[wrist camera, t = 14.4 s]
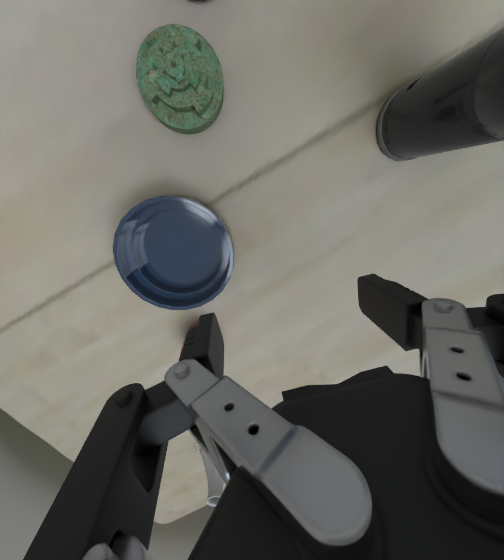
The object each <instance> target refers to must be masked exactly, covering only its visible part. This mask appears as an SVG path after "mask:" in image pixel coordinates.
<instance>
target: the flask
mask: <svg viewBox="0 0 504 560" xmlns="http://www.w3.org/2000/svg"><path fill="white" fill-rule="evenodd" d="M201 456H202V459H203V463H204V466H205V471H206V475H207V479H208V498H207V500H206V503H207V504H208V505H210V506H216V505H217V503H218V501H219V499H220V497H221V495H222V493H223V483H224V481H223V479H222V478H221V476H220V475H219V473H218V471H217V470H216V468H215V466H214V464H213V463H212V461H211V460H210V459H209V457H208V456H207V455H206V453H205V452H204V451H203V449H201Z"/></svg>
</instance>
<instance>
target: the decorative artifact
mask: <svg viewBox="0 0 504 560" xmlns="http://www.w3.org/2000/svg"><path fill="white" fill-rule="evenodd" d="M136 76H137V83H138V87H139V90H140V93H141V95H142V98H143V100H144V101H145V103H146V105H147V106H148V108H149V109H150V110H151V112H152V113H153V114H154V115H155V116H156V117H157V118H158V119H159V120H160V121H161V122H162V123H163V124H164V125H165V126H167V127H168V128H170V129H171V130H173V131H176V132H179V133H183V134H195V133H199V132H201V131H203V130H205V129H207V128H208V127H209V126H210V125H211V124H212V123H213V122H214V121H215V120H216V118H217V117H218V115H219V113H220V110H221V107H222V103H223V76H222V71H221V66H220V63H219V60H218V58H217V56H216V54H215V52H214V50H213V49H212V47H211V46H210V44H209V43H208V42H207V41H206V40H205V39H204V38H203V37H202V36H201V35H200V34H199V33H197V32H196V31H194V30H193V29H191V28H188V27H186V26H182V25H177V24H170V25H165V26H162V27H159V28H157V29H155V30H154V31H153V32H151V33H150V34H149V35H148V36H147V37H146V39H145V40H144V42H143V43H142V45H141V47H140V50H139V53H138V56H137V62H136Z"/></svg>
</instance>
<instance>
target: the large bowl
mask: <svg viewBox="0 0 504 560" xmlns="http://www.w3.org/2000/svg"><path fill="white" fill-rule="evenodd" d="M113 253H114V259H115V264H116V267H117V269H118V271H119V273H120V276H121V278H122V279H123V281H124V282H125V283H126V284H127V286H128V287H129V288H130V289H131V291H133V292H134V293H135V294H136V295H138V296H139V297H140V298H141V299H143V300H144V301H147V302H149V303H151V304H153V305H155V306H158V307H161V308H166V309H170V310H187V309H192V308H196V307H200V306H202V305H204V304H206V303H208V302H209V301H211V300H213V299H214V298H215V297H216V296H217V295H218V294H219V293H220V292H221V291H222V290H223V289H224V287H225V286H226V284H227V282H228V281H229V279H230V276H231V272H232V269H233V260H234V251H233V243H232V239H231V235H230V232H229V230H228V228H227V226H226V225H225V223H224V221H223V220H222V218H221V217H220V216H219V215H218V214H217V213H216V212H215V211H214V210H213V209H212V208H210V207H208V206H207V205H205V204H204V203H202V202H201V201H198V200H195V199H192V198H189V197H185V196H160V197H156V198H152V199H148V200H145V201H143V202H141V203H140V204H138V205H136V206H135V207H133V208H131V209H130V211H129V212H128V213H127V214H126V215H125V216H124V217H123V218H122V219H121V221H120V223H119V226H118V228H117V230H116V232H115V236H114V244H113Z"/></svg>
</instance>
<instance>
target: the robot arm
mask: <svg viewBox="0 0 504 560" xmlns="http://www.w3.org/2000/svg"><path fill="white" fill-rule="evenodd" d="M427 72H428V71H427ZM424 74H425V73H424ZM421 76H422V75H421ZM377 139H378V143H379V146H380V148H381V150H382V151H383V152H384V153H385V154H386V155H387V156H388V157H389V158H391V159H394V160H398V161H404V160H410V159H414V158H417V157H421V156H427V155H432V154H437V153H442V152H447V151H452V150H457V149H462V148H467V147H473V146H478V145H483V144H488V143H493V142H498V141H503V140H504V27H503V28H501V29H499V30H498V31H496V32H494V33H493V34H491V35H489V36H488V37H486V38H484V39H483V40H481V41H479V42H478V43H476V44H475V45H473V46H471V47H470V48H468V49H466V50H465V51H463V52H461V53H460V54H458V55H456V56H455V57H453V58H452V59H450V60H448V61H447V62H445V63H443V64H442V65H440V66H438V67H437V68H435V69H433V70H432V71H430V72H429V73H427V74H425V75H424V76H422V77H420V78H419V77H418V78H417V80H416V79H415V80H414V82H411V83H410V84H407V85H406V86H404V87H402V88H401V89H399V90H398V91H396V92H395V93H394V94H393V95H392V96H391V97H390V98H389V99H388V100H387V101H386V103H385V104H384V106H383V108H382V110H381V112H380V115H379V118H378V122H377ZM358 299H359V306H360V309H361V311H362V312H363V314H364V315H366V316H367V317H368V318H369V319H370V320H371V321H372V322H374V323H375V324H376V325H377V326H378V327H379V328H380V329H381V330H383V331H384V332H385V333H386V334H387V335H388V336H389V337H391V338H392V339H393V340H394V341H395V342H396V343H397V344H398V345H400V346H401V347H402V348H403V349H404V350H405V351H409V350H413V349H417V348H418V349H419V364H420V376H415V375H409V374H398V373H393V372H392V371H391V370H390V369H389V368H388V366H383V367H379V368H375V369H371V370H367V371H363V372H360V373H358V374H356V375H354V376H352V377H351V378H349V379H347V380H345V381H343V382H341V383H339V384H333V385H307V386H303V387H299V388H295V389H291V390H287V391H283V392H282V395H283V400H284V401H282V402H280V403H279V404H277V405H276V406H274V407H273V408H272V409H271V408H270V407H268V406H267V405H266V404H264V403H263V402H262V401H260V400H259V399H258V398H256V397H255V396H254V395H252V394H251V393H249V392H248V391H247V390H245V389H244V388H243V387H241V386H240V385H239V384H237V383H236V382H235V381H233V380H232V379H231V378H229V377H228V376H223V371H224V342H223V337H222V334H221V331H220V328H219V325H218V322H217V318H216V315H215V313H214V312H213V313H209V314H205V315H201V316H200V318H199V323H198V325H197V326H193V327H192V328H191V329H190V330H189V331H188V333H187V335H186V338H185V342H184V346H183V348H182V352H181V355H180V358H179V362H177V363H176V364H174V365H173V366H172V367H171V368H169V370H168V371H167V372H166V374H165V380H164V381H163V382H161V383H159V384H157V385H155V386H153V387H151V388H149V389H146V390H144V388H143V386H142V385H141V384H139V383H133V384H129V385H127V386H124V387H123V388H121V389H119V390H118V391H116V392H115V393H114V394H113V395H112V396H111V397H110V398H109V399H108V400H107V402H106V403H105V405H104V407H103V409H102V411H101V413H100V415H99V417H98V419H97V420H96V422H95V424H94V426H93V428H92V430H91V432H90V434H89V436H88V437H87V439H86V441H85V443H84V445H83V447H82V449H81V451H80V453H79V454H78V456H77V458H76V460H75V462H74V464H73V466H72V468H71V470H70V472H69V474H68V475H67V478H66V480H65V481H64V483H63V485H62V487H61V489H60V491H59V492H58V494H57V496H56V498H55V500H54V502H53V504H52V506H51V508H50V510H49V511H48V513H47V515H46V517H45V519H44V521H43V523H42V525H41V527H40V528H39V530H38V532H37V534H36V536H35V538H34V540H33V542H32V543H31V545H30V547H29V549H28V551H27V553H26V555H25V557H24V559H23V560H154V559H153V557H152V556H151V555H150V553H149V552H148V547H149V542H150V536H151V531H152V526H153V520H154V515H155V510H156V504H157V499H158V494H159V488H160V483H161V478H162V472H163V467H164V462H165V456H166V451H167V446H168V441H169V440H170V439H172V438H174V437H176V436H177V435H179V434H181V433H183V432H184V431H186V430H188V431H189V432H190V433H191V435H192V436H193V437H194V439H195V440H196V441H197V443H198V444H199V445H200V447H201V448H202V449H203V451H204V452H205V453H206V455H207V456H208V457H209V459H210V460H211V461H212V463H213V464H214V466H215V468H216V470H217V471H218V473H219V475H220V476H221V478H222V479H223V481H224V482H225V484H226V485H227V486H226V488H225V489H224V491H223V493H222V495H221V497H220V499H219V501H218V503H217V505H216V507H215V508H214V511H213V512H212V515H211V516H210V518H209V520H208V522H207V524H206V526H205V528H204V530H203V531H202V533H201V535H200V537H199V539H198V541H197V543H196V545H195V547H194V548H193V550H192V552H191V554H190V556H189V558H188V560H504V385H503V382H502V380H501V377H500V375H501V376H503V377H504V294H495V295H491V296H489V297H488V298H487V301H486V307H476V308H466V307H465V306H464V305H463V304H461V303H459V302H457V301H454V300H450V299H444V298H433V299H427V298H425V297H423V296H422V295H420V294H418V293H416V292H414V291H412V290H411V291H410V289H408V288H406V287H404V286H402V285H400V284H399V283H397V282H393V281H389V280H385V279H383V278H381V277H379V276H377V275H375V274H369V275H365V276H361V277H359V278H358ZM499 374H500V375H499Z"/></svg>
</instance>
